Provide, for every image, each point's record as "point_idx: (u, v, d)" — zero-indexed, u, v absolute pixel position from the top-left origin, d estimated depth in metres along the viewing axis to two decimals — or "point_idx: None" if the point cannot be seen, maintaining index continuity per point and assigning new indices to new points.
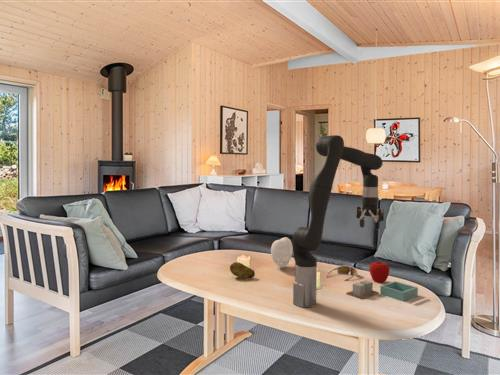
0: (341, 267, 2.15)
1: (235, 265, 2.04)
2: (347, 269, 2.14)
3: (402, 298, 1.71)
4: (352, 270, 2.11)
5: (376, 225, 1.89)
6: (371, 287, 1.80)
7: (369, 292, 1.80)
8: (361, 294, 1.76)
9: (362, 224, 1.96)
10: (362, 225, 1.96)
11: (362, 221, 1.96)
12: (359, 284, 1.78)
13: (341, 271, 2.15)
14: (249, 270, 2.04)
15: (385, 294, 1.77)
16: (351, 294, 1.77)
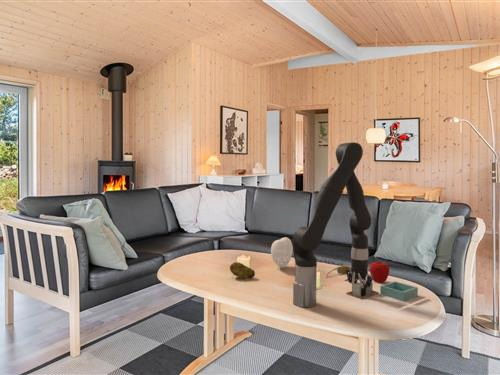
0: (340, 268, 2.15)
1: (235, 265, 2.05)
2: (347, 269, 2.13)
3: (402, 298, 1.71)
4: None
5: (362, 291, 1.75)
6: (371, 287, 1.80)
7: (369, 292, 1.80)
8: None
9: None
10: None
11: None
12: (359, 284, 1.78)
13: (341, 271, 2.15)
14: (249, 270, 2.04)
15: (385, 294, 1.77)
16: (351, 294, 1.77)
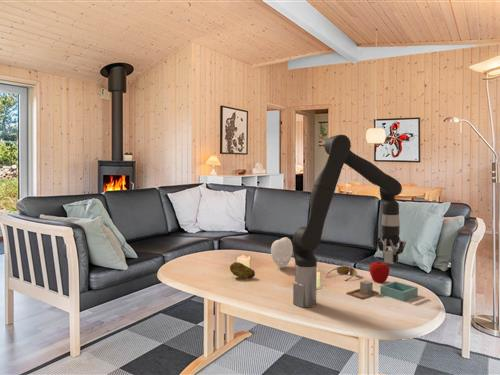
0: (340, 268, 2.15)
1: (235, 265, 2.05)
2: (346, 269, 2.13)
3: (402, 298, 1.71)
4: (351, 270, 2.11)
5: (394, 258, 1.74)
6: (371, 287, 1.80)
7: (369, 292, 1.80)
8: None
9: None
10: None
11: None
12: (391, 251, 1.76)
13: (340, 271, 2.15)
14: (249, 270, 2.04)
15: (385, 294, 1.77)
16: (351, 294, 1.77)
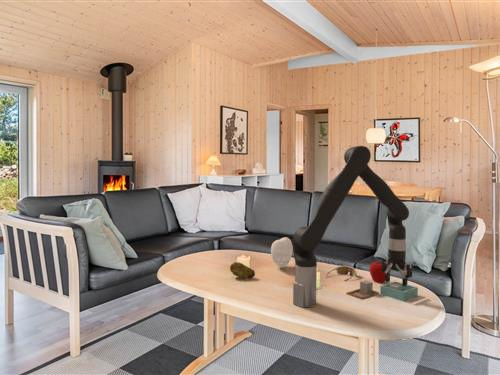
0: (340, 268, 2.14)
1: (235, 265, 2.05)
2: (346, 269, 2.13)
3: (402, 298, 1.71)
4: (351, 270, 2.11)
5: (404, 281, 1.72)
6: (371, 287, 1.80)
7: (369, 292, 1.80)
8: None
9: (388, 278, 1.79)
10: (388, 279, 1.79)
11: (388, 275, 1.79)
12: (396, 285, 1.76)
13: (340, 271, 2.15)
14: (249, 270, 2.04)
15: (385, 294, 1.77)
16: (351, 294, 1.77)
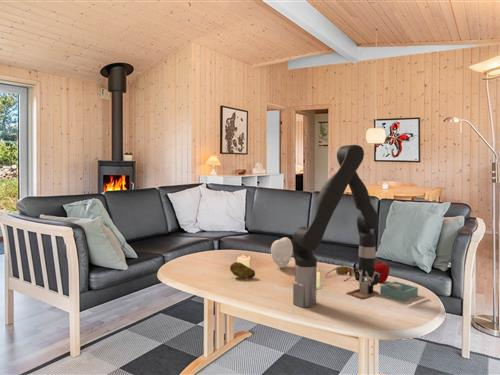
0: (339, 268, 2.14)
1: (235, 265, 2.05)
2: (346, 269, 2.13)
3: (402, 298, 1.71)
4: (351, 270, 2.10)
5: (369, 289, 1.79)
6: None
7: None
8: None
9: None
10: None
11: None
12: (396, 285, 1.76)
13: (340, 271, 2.14)
14: (249, 270, 2.04)
15: (385, 294, 1.77)
16: (351, 294, 1.77)
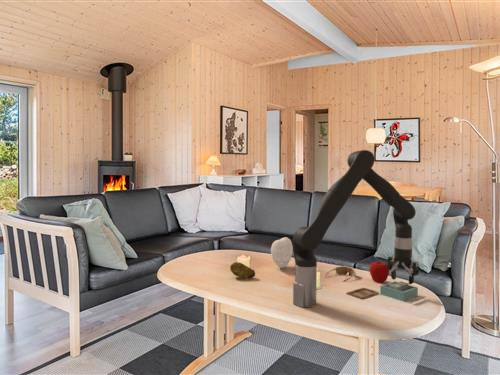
0: (339, 268, 2.14)
1: (235, 265, 2.05)
2: (345, 270, 2.12)
3: (402, 298, 1.71)
4: (350, 271, 2.10)
5: (410, 279, 1.75)
6: (407, 288, 1.79)
7: None
8: None
9: (394, 276, 1.82)
10: (394, 277, 1.82)
11: (394, 273, 1.82)
12: (396, 285, 1.76)
13: (339, 272, 2.14)
14: (249, 270, 2.04)
15: (385, 294, 1.77)
16: (351, 294, 1.77)
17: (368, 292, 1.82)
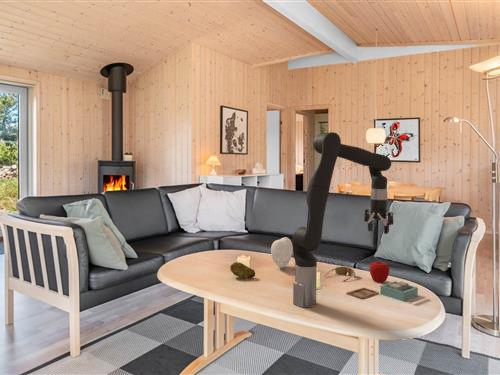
0: (338, 268, 2.14)
1: (235, 265, 2.05)
2: (345, 270, 2.12)
3: (402, 298, 1.71)
4: (350, 271, 2.10)
5: (385, 229, 1.80)
6: (407, 288, 1.79)
7: None
8: None
9: (370, 228, 1.88)
10: (370, 229, 1.88)
11: (370, 225, 1.87)
12: (396, 285, 1.76)
13: (339, 272, 2.14)
14: (249, 270, 2.04)
15: (385, 294, 1.77)
16: (351, 294, 1.77)
17: (368, 292, 1.82)
